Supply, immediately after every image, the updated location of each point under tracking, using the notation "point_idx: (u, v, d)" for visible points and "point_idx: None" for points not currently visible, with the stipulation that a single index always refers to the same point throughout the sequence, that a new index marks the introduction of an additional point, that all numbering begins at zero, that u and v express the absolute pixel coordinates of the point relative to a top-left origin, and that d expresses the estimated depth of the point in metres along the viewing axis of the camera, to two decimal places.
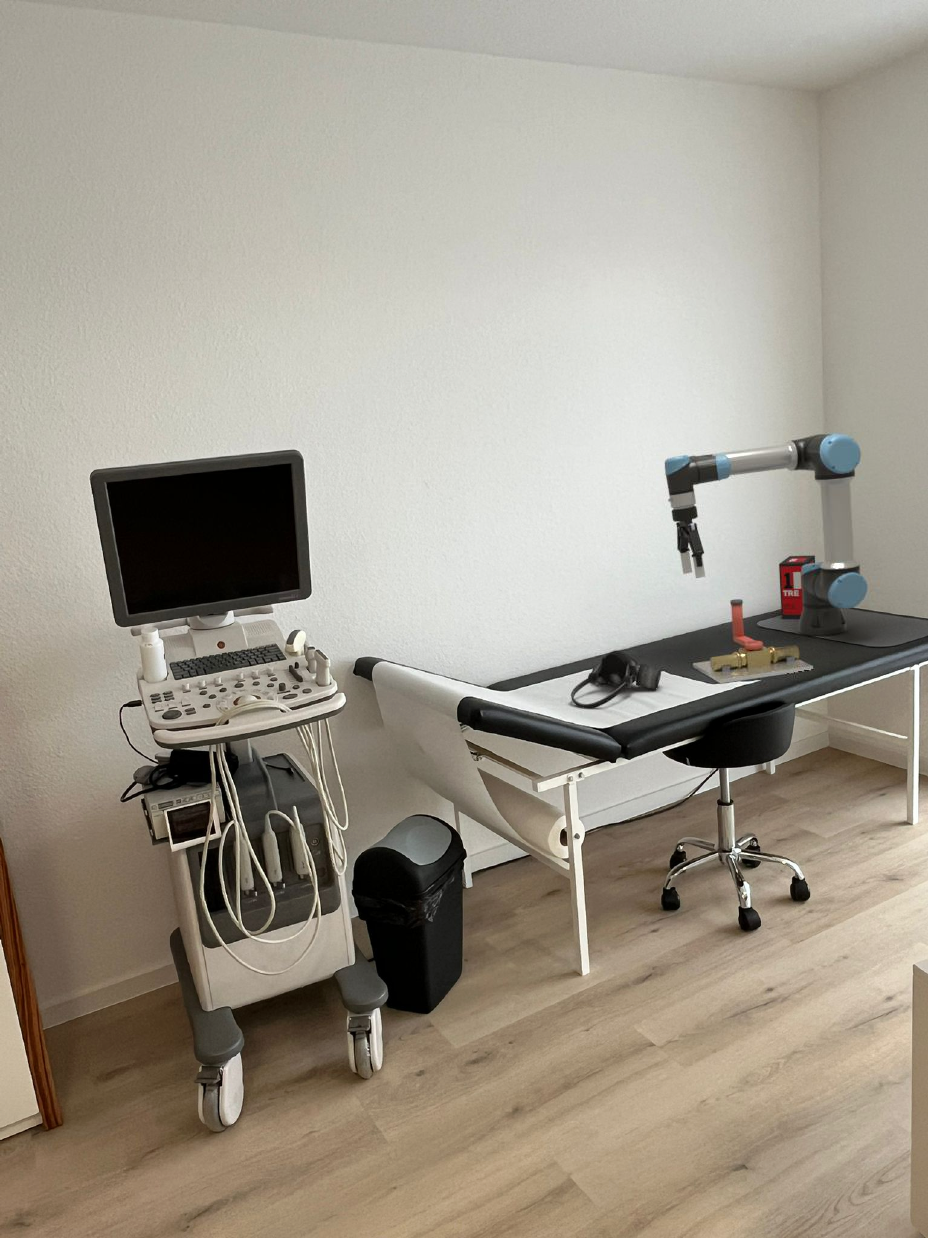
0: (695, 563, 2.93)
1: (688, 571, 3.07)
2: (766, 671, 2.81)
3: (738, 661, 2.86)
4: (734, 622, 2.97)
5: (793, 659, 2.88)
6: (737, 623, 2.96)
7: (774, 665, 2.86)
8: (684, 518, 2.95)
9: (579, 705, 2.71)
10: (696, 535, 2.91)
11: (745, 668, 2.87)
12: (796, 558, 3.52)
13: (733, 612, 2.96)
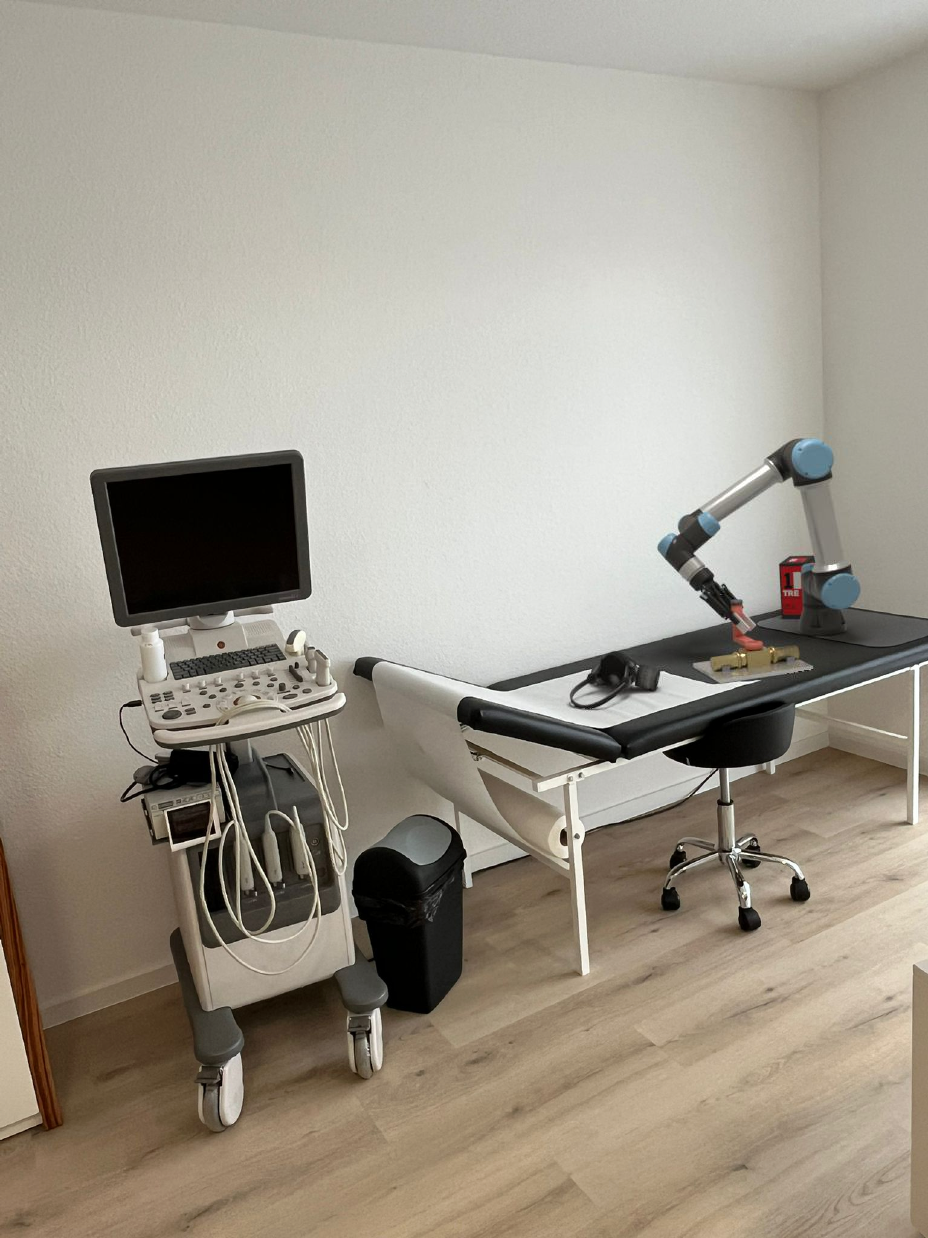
0: None
1: (751, 626, 2.97)
2: (766, 671, 2.81)
3: (738, 661, 2.86)
4: None
5: (793, 659, 2.88)
6: None
7: (774, 665, 2.86)
8: (696, 586, 3.01)
9: (578, 706, 2.70)
10: (711, 602, 2.96)
11: (745, 668, 2.87)
12: (796, 558, 3.52)
13: (733, 612, 2.96)
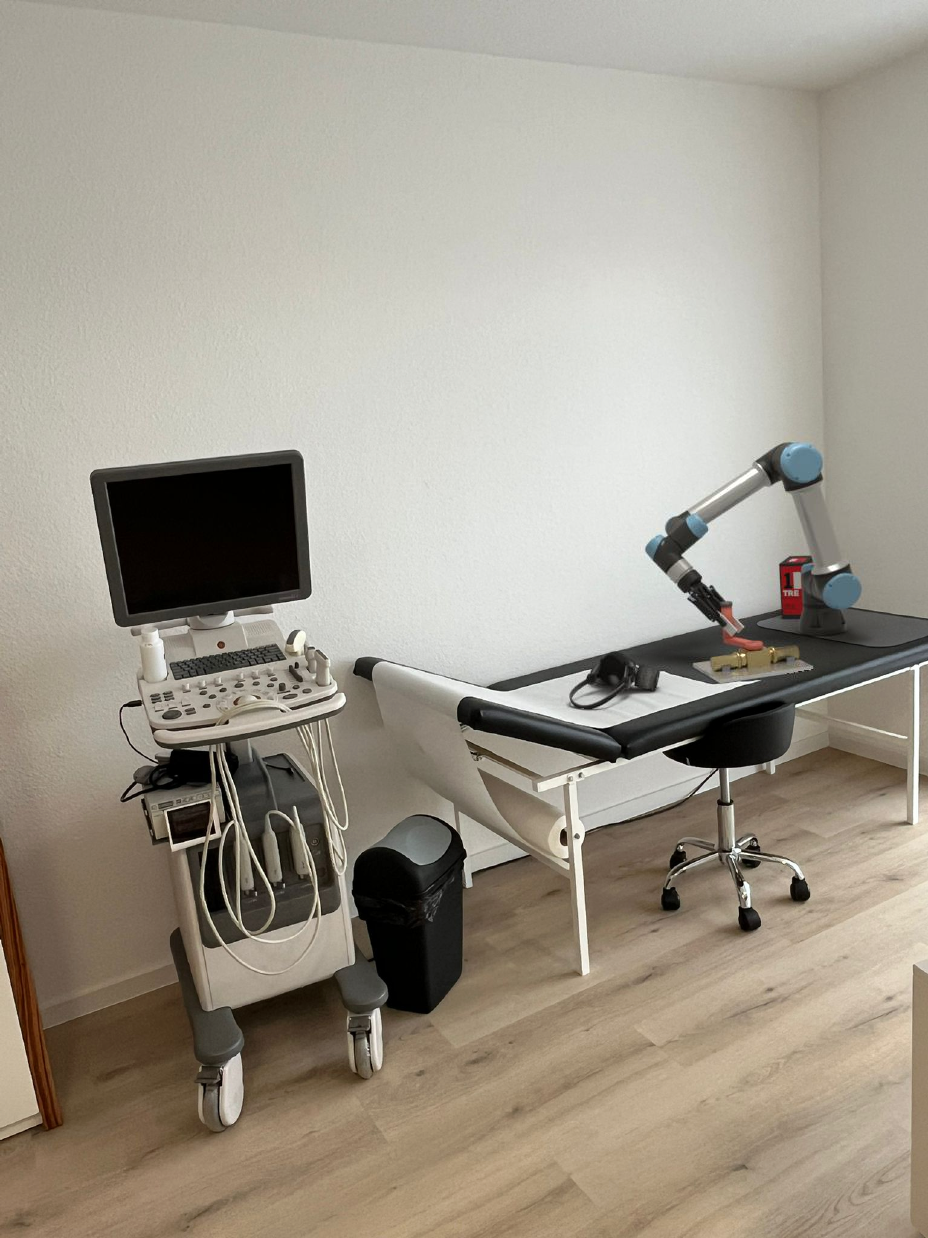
0: None
1: (739, 628, 2.96)
2: (766, 671, 2.81)
3: (738, 661, 2.86)
4: None
5: (793, 659, 2.88)
6: None
7: (774, 665, 2.86)
8: (684, 588, 3.00)
9: (577, 706, 2.70)
10: (699, 604, 2.95)
11: (745, 668, 2.87)
12: (796, 558, 3.52)
13: (724, 614, 2.95)
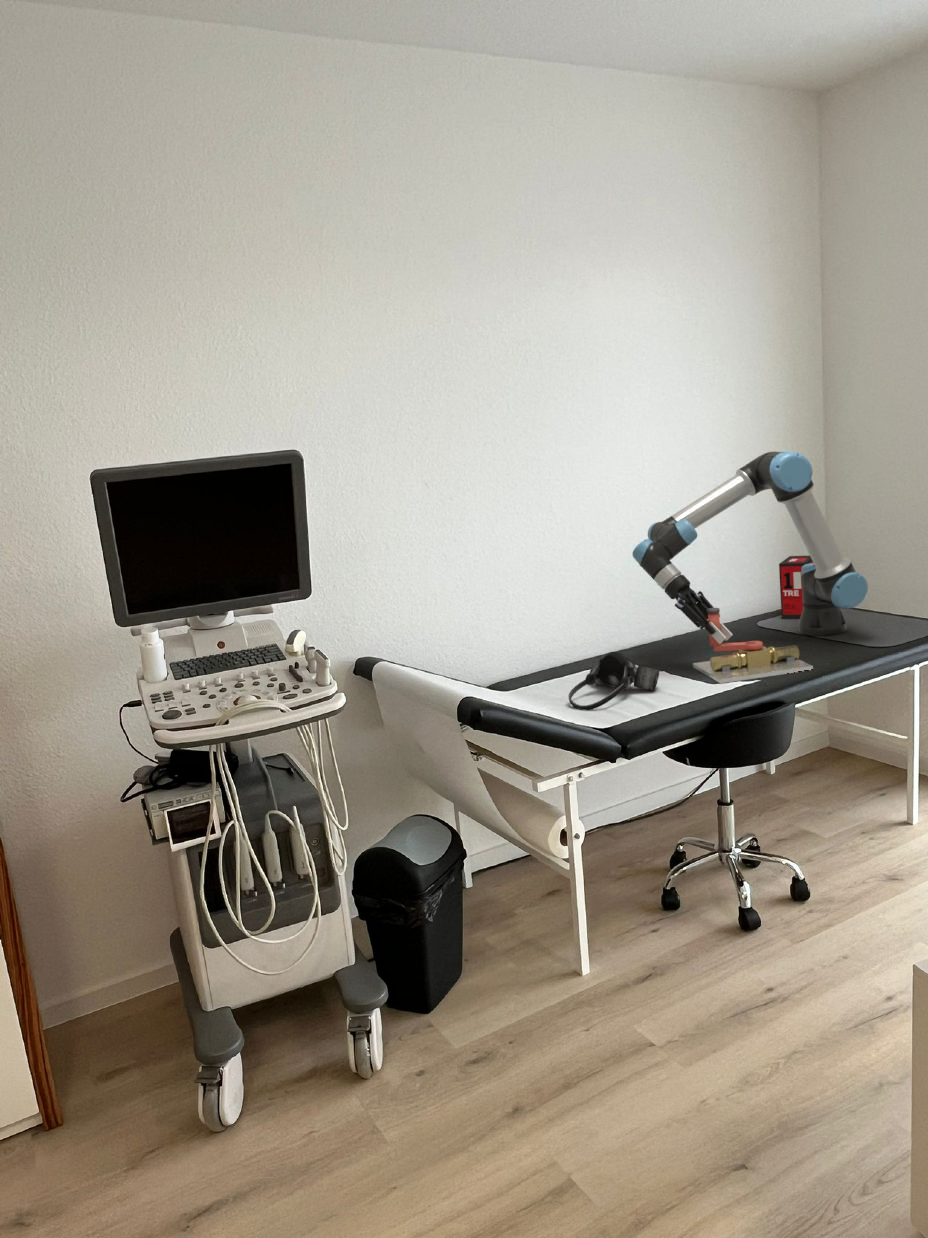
0: None
1: (728, 636, 2.89)
2: (766, 671, 2.81)
3: (738, 661, 2.86)
4: None
5: (793, 659, 2.88)
6: None
7: (774, 665, 2.86)
8: (671, 594, 2.93)
9: (577, 706, 2.69)
10: (687, 610, 2.88)
11: (745, 668, 2.87)
12: (796, 558, 3.52)
13: (716, 621, 2.87)
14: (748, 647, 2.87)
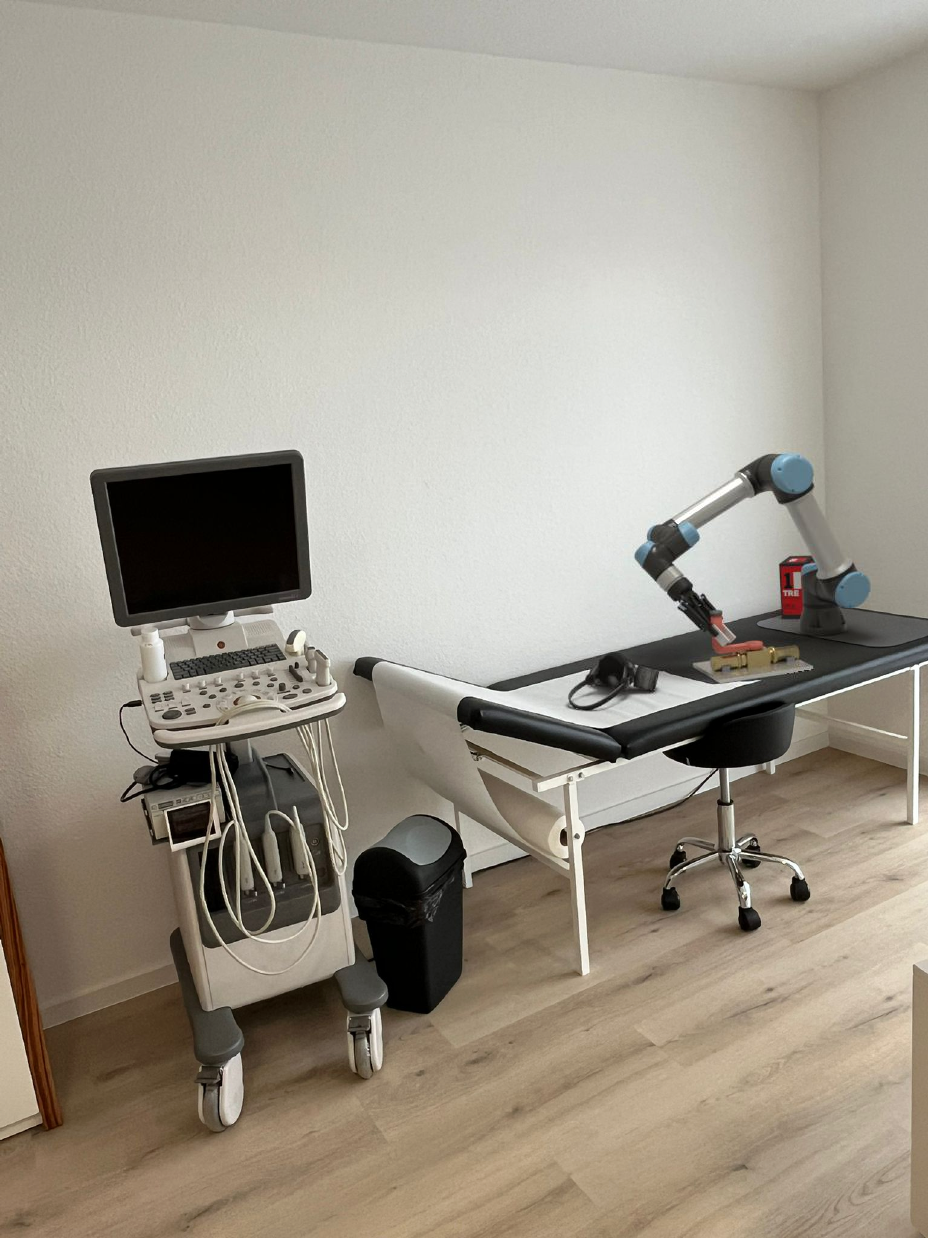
0: None
1: (731, 639, 2.85)
2: (766, 671, 2.81)
3: (738, 661, 2.86)
4: None
5: (793, 659, 2.88)
6: None
7: (774, 665, 2.86)
8: (674, 597, 2.89)
9: (576, 707, 2.69)
10: (690, 613, 2.84)
11: (745, 668, 2.87)
12: (796, 558, 3.52)
13: (720, 623, 2.84)
14: (751, 647, 2.86)
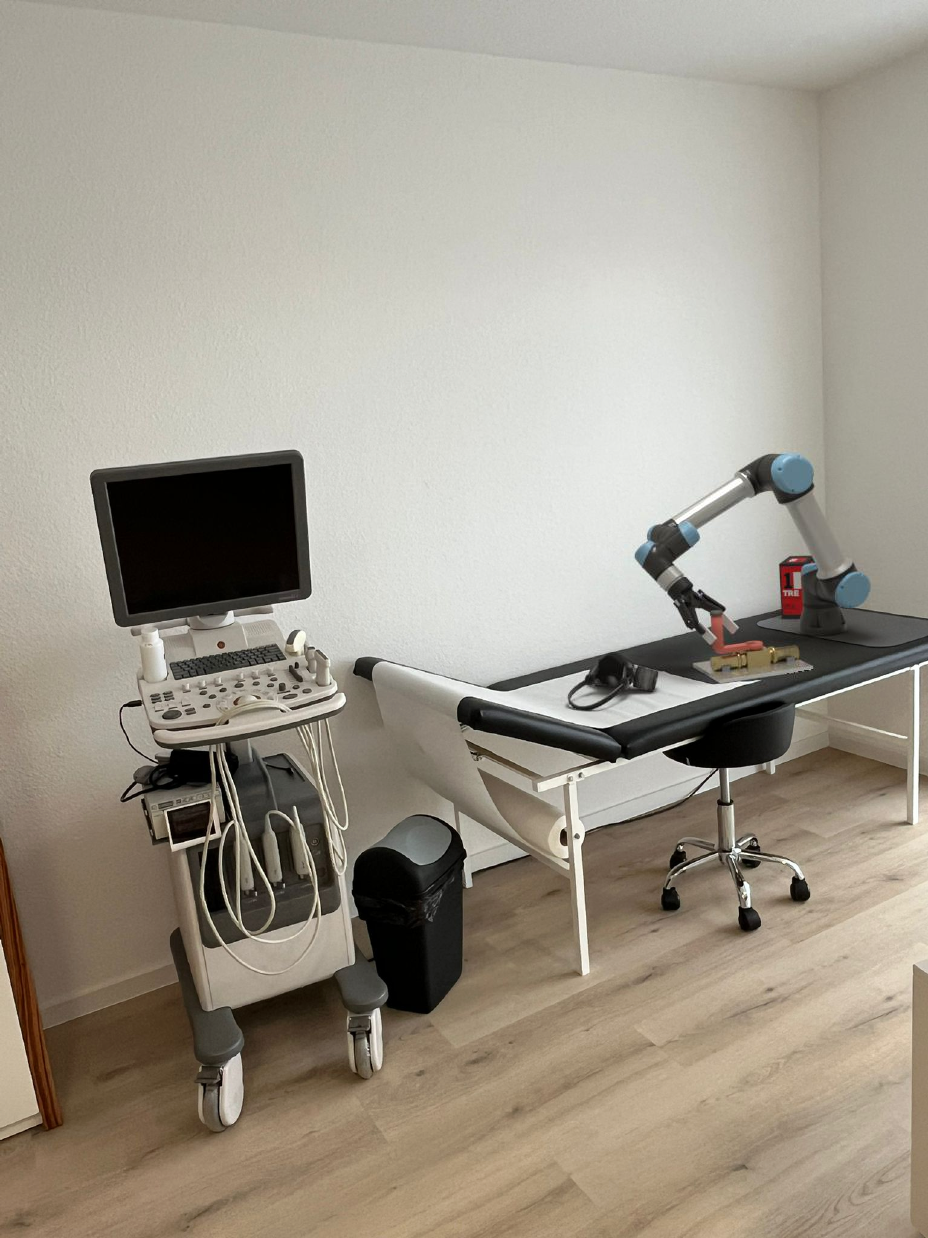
0: None
1: (734, 629, 2.89)
2: (766, 671, 2.81)
3: (738, 661, 2.86)
4: (721, 633, 2.85)
5: (793, 659, 2.88)
6: None
7: (774, 665, 2.86)
8: (674, 597, 2.89)
9: (576, 707, 2.69)
10: (682, 609, 2.83)
11: (745, 668, 2.87)
12: (796, 558, 3.52)
13: (720, 623, 2.84)
14: (751, 647, 2.86)
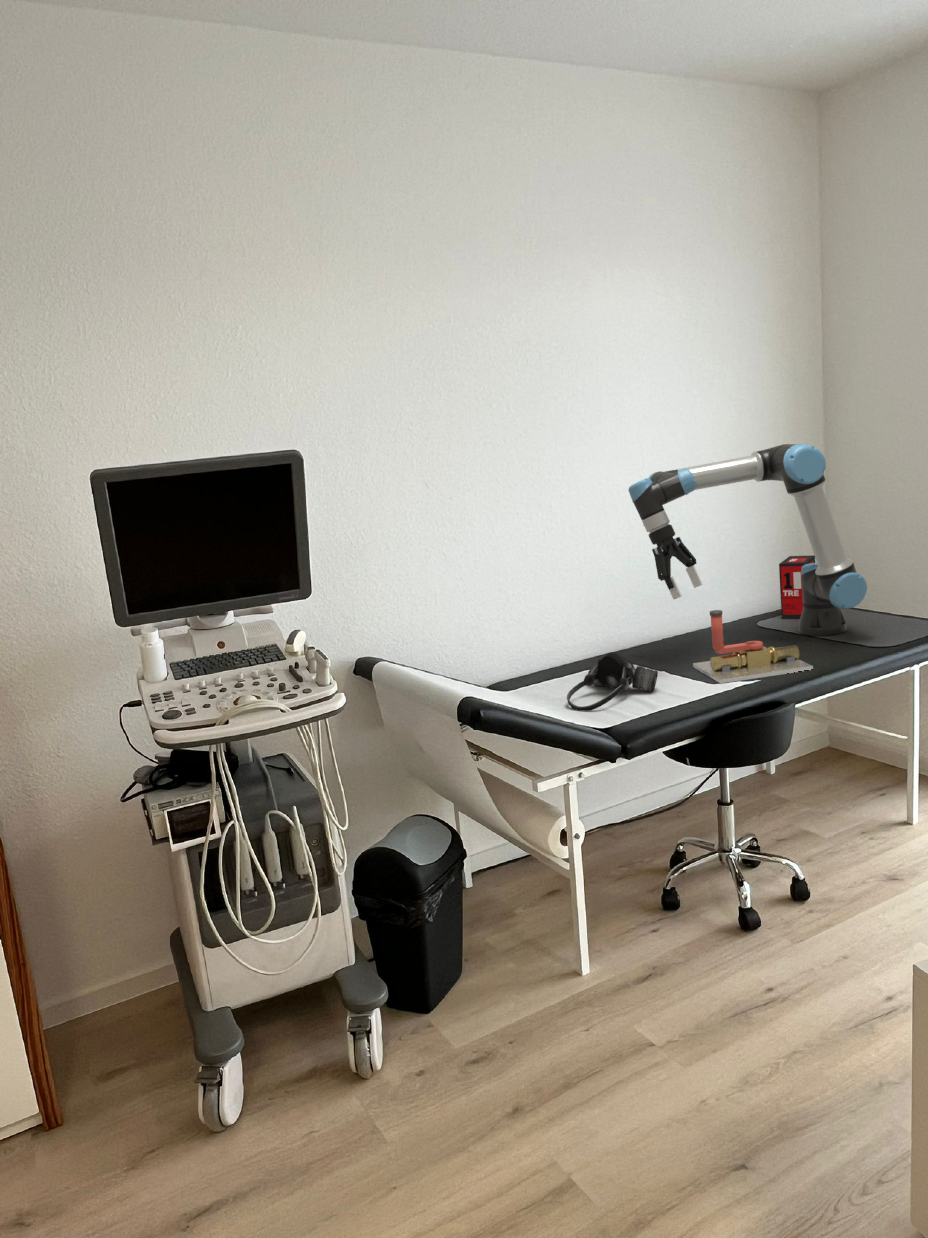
0: None
1: (697, 584, 3.00)
2: (766, 671, 2.81)
3: (738, 661, 2.86)
4: (721, 633, 2.85)
5: (793, 659, 2.88)
6: None
7: (774, 665, 2.86)
8: (654, 541, 2.94)
9: (575, 708, 2.69)
10: (659, 559, 2.90)
11: (745, 668, 2.87)
12: (796, 558, 3.52)
13: (720, 623, 2.84)
14: (751, 647, 2.86)
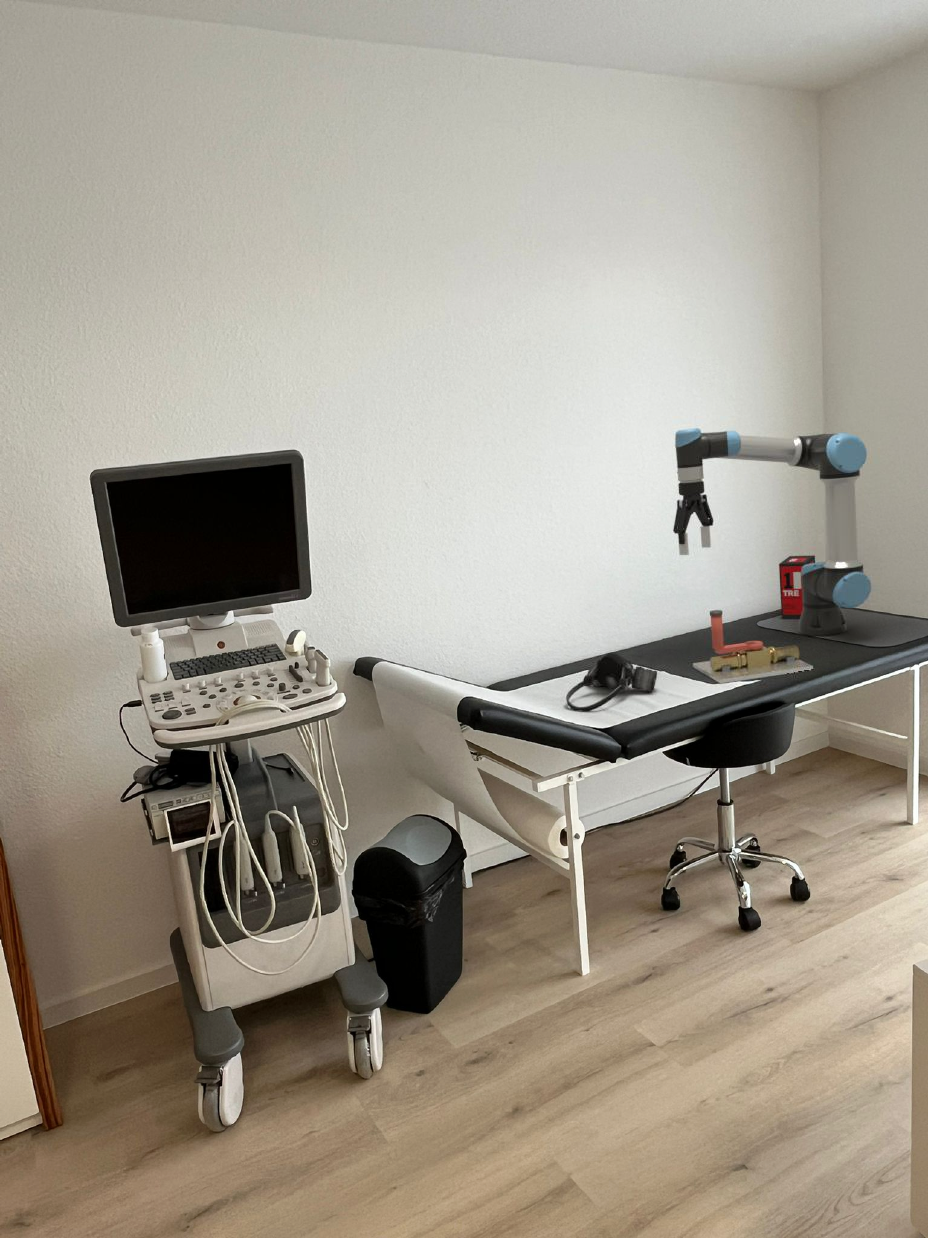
0: None
1: (706, 545, 3.02)
2: (766, 671, 2.81)
3: (738, 661, 2.86)
4: (721, 633, 2.85)
5: (793, 659, 2.88)
6: None
7: (774, 665, 2.86)
8: (682, 493, 2.92)
9: (574, 708, 2.68)
10: (680, 512, 2.89)
11: (745, 668, 2.87)
12: (796, 558, 3.52)
13: (720, 623, 2.84)
14: (751, 647, 2.86)
